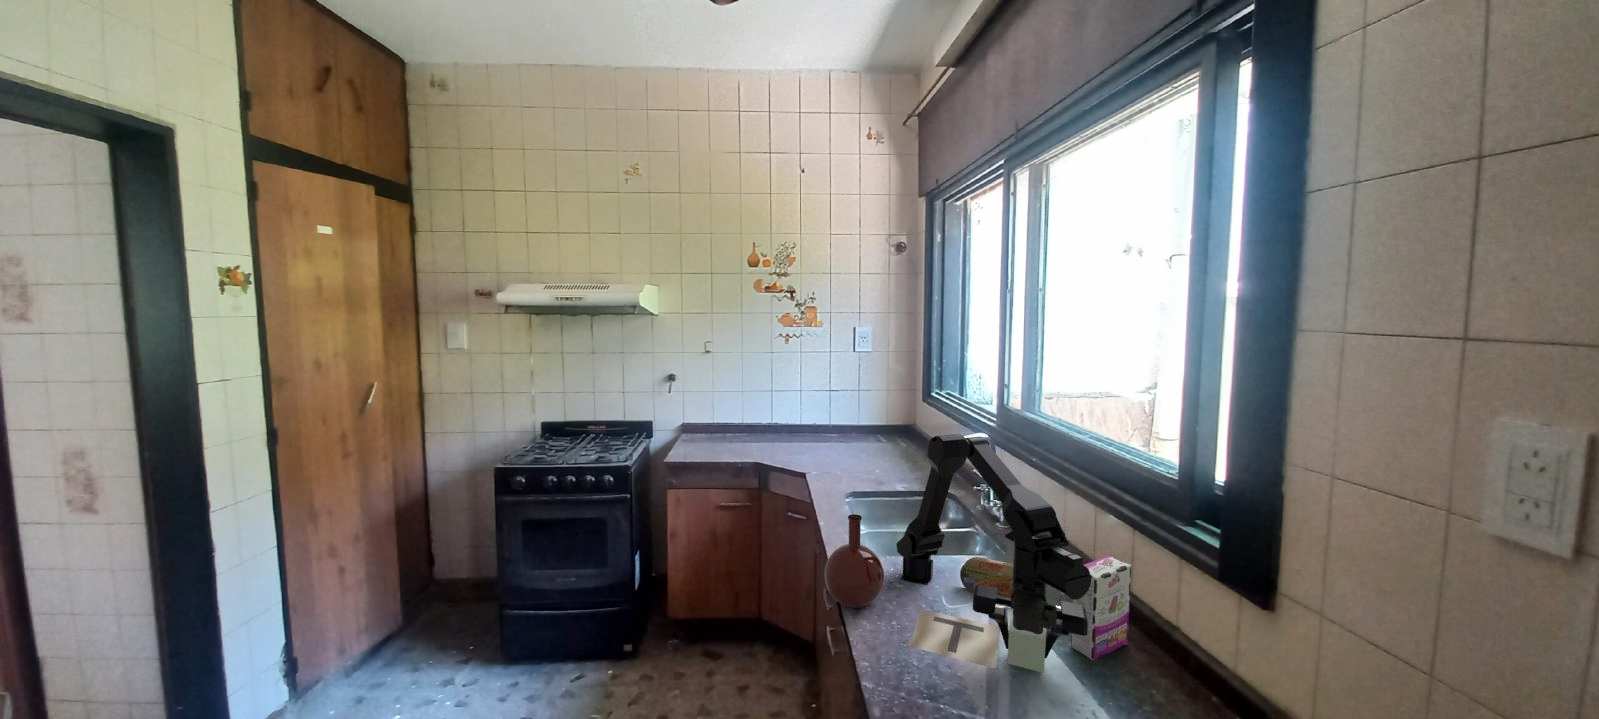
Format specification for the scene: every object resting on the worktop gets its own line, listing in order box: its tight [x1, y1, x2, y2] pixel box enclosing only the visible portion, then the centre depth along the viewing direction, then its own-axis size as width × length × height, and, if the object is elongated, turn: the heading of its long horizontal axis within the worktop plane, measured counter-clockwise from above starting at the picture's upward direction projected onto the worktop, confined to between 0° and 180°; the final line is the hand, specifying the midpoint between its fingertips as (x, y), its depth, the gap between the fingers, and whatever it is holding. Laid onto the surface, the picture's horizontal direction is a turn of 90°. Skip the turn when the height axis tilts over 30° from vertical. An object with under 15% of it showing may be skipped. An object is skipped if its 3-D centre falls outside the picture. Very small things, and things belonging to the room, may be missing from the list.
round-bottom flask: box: [824, 513, 885, 609], centre depth 118 cm, size 13×13×20 cm
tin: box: [959, 556, 1013, 598], centre depth 121 cm, size 15×3×8 cm, turn 62°
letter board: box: [908, 608, 1001, 669], centre depth 106 cm, size 16×14×1 cm
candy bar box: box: [1070, 555, 1132, 661], centre depth 103 cm, size 11×5×16 cm, turn 117°
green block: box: [1007, 614, 1046, 673], centre depth 97 cm, size 6×6×6 cm
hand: (1025, 652), depth 97 cm, fingers closed on green block, 6 cm apart
